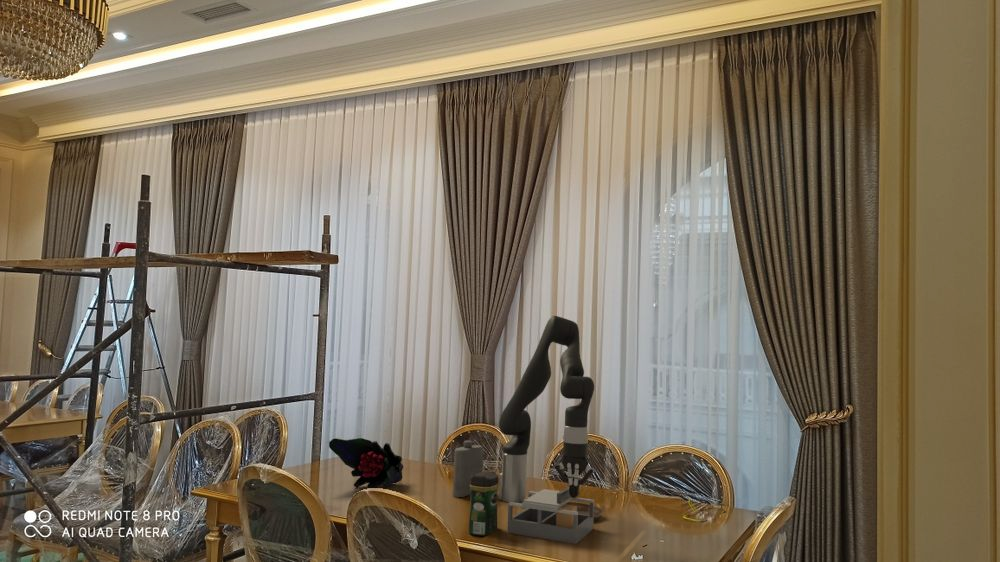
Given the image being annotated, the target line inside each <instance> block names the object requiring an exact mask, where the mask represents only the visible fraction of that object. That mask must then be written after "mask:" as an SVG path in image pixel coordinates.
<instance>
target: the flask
mask: <svg viewBox="0 0 1000 562" xmlns="http://www.w3.org/2000/svg"><path fill="white" fill-rule="evenodd" d="M473 442H474V441H472V440H464V441H463V446H460V447H456V448H455V449H454V461H453V489H452V497H454V496H455V497H454V498H456V497H464V498H466V497H468V496H467V495H469V496H471V495H470V494H471V491H470V477H471V476H473V475H475V474H478V473H481V472H483V470H484V469H483V464H484V446H482V445H477V444H475V445H474V444H473ZM465 496H466V497H465Z"/></svg>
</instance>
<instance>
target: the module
mask: <svg viewBox="0 0 1000 562" xmlns="http://www.w3.org/2000/svg"><path fill="white" fill-rule="evenodd" d="M559 509H563V510H569V511H576V512H577V506H574V505H567V504H565V505H563V506H562V507H560V508H559ZM573 521H574V515H572V514H565V513H558V512H556V526H562V527H568V528H573Z"/></svg>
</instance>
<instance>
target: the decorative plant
mask: <svg viewBox="0 0 1000 562" xmlns="http://www.w3.org/2000/svg"><path fill="white" fill-rule="evenodd" d="M328 447H329V449H330V450H331V451H332V452H333V453H334V454H335V455H337V456H338V458H339V459H340V460H341V462H342V463H344V465H346V466H347V467H349V468H351V469H353V470H352V471H351V472H350V474H351V476H352V477H354V478H355V477H358V479H357V480H356V481H355V482H354V483H353V487H354V486H355V487H357V488H359V487H361V486H363V485H366V484H367V485H366V489H367V488H375V489H376V488H377V487H378V486H380V485H382V486H383V488H386V487H388V486H390V485H393V484H392V483H395V484H397V483H399V482H402V479H403V469H404V465H403V463H402V461H403V458H402V455H398V454H395V453H394V452H393V450H392V448H391V445H390V443H388V442H386V443H384V444H383V447H381V446H380V444H379V442H378V441H377V440H373V441H372V440H369V439H365V438H363V437H358V438H352V439H341V438H332V439H331V440H329V442H328ZM355 487H354V488H355Z"/></svg>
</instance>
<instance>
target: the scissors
mask: <svg viewBox="0 0 1000 562" xmlns="http://www.w3.org/2000/svg"><path fill="white" fill-rule="evenodd" d="M688 505H689V506H690V508H691V510H692V511H693V513H695V512H697V511H698V509H697V508H696V507H695V506H694V504H693V502H692V500H691V498H690V499H688ZM707 506H708V505H707ZM707 506H705V507H707ZM713 506H714V507H713V508H716V507H718V506H717V505H713ZM707 508H708V507H707ZM686 515H687V514H686ZM686 515H683V516H682V518H683V519H686V520H689V521H694V522H699V521H700V520H699V519H693V518H691V517H690V518H689V517H687V516H686Z"/></svg>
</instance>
